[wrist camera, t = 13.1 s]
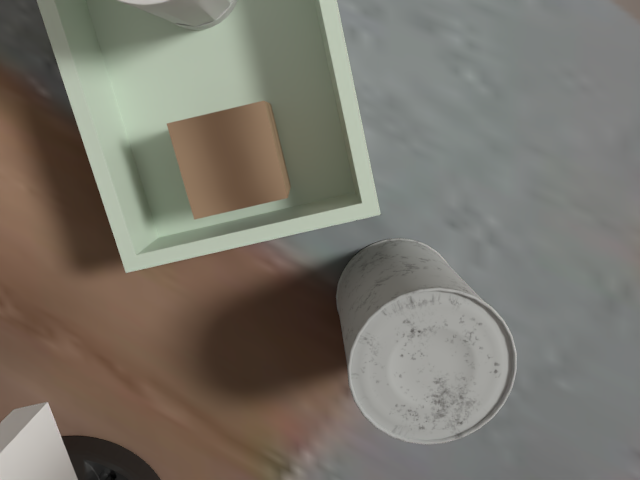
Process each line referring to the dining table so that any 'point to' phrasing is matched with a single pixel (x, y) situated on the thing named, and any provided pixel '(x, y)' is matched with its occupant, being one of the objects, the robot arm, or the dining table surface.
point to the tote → (203, 98)
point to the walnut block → (230, 159)
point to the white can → (421, 344)
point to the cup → (187, 11)
